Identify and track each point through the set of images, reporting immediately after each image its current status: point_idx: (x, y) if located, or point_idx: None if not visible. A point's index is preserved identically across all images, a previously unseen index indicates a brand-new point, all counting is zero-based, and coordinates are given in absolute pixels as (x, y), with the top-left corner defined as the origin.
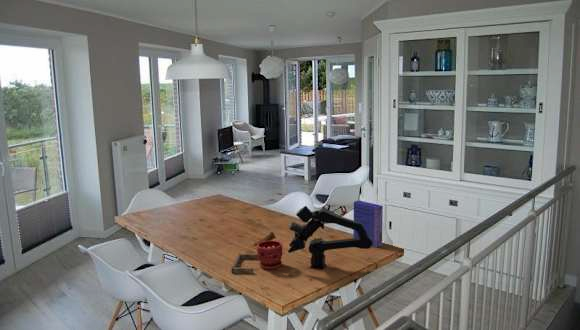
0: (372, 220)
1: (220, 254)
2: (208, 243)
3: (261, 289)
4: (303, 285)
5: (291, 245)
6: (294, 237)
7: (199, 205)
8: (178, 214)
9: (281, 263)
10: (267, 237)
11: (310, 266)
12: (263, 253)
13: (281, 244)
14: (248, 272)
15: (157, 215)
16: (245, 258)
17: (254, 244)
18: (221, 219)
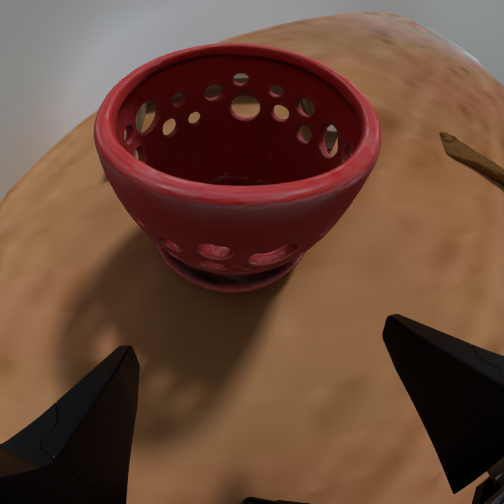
0: None
1: (318, 58)
2: (378, 51)
3: None
4: (8, 432)
5: (391, 347)
6: (495, 379)
7: (495, 82)
8: (453, 52)
9: (223, 291)
10: (499, 171)
11: (246, 500)
12: (284, 133)
13: (241, 199)
14: None
15: (430, 35)
16: (304, 105)
17: (444, 133)
18: (489, 95)
